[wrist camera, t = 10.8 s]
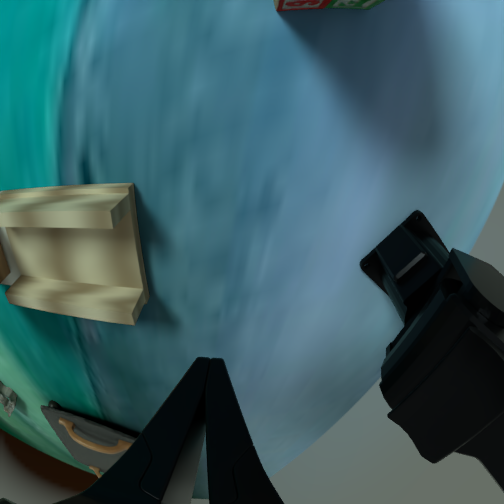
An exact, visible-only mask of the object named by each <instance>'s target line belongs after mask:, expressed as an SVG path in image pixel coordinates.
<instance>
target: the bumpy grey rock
mask: <svg viewBox="0 0 504 504" xmlns="http://www.w3.org/2000/svg"><path fill="white" fill-rule="evenodd" d="M6 397H8V398H9V400H10V401H9V400H8V399H7V398H6ZM16 397H17V394H15V393H14V391H13V390H12V389H11V388H9V387H6V386H5V385H3V384H2V383H1V381H0V402H1V403H2V404H3V405H4V410H5V411H6V412H7V413H8V414H9V415H8V417H10V415H11V413H12V412H13V410H14V408H15V405H16V403H15V402H16Z"/></svg>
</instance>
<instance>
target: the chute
mask: <svg viewBox="0 0 504 504" xmlns="http://www.w3.org/2000/svg"><path fill="white" fill-rule="evenodd" d="M0 243H1V246H2V249H3V252H4V255H5V258H6V261H7V263H8V266H9V269H10V272H11V273H10V274H9V275H8V276H7V277H6V278H5V279H4V280H3V281H2V282H1V283H0V284H5V285H11V287H10V288H9V289H8V290H7V291H6V292H5V295H6V297H7V299H8V301H9V303H10V304H15V305H19V306H24V307H28V308H33V309H38V310H43V311H48V312H53V313H58V314H63V315H69V316H75V317H81V318H87V319H93V320H99V321H106V322H113V323H120V324H128V325H135V324H136V321H137V319H138V317H139V314H140V312H141V310H142V307H143V305H144V304H147V302H148V299H149V297H150V296H149V291H148V285H147V280H146V274H145V268H144V262H143V256H142V249H141V243H140V236H139V228H138V221H137V212H136V204H135V194H134V184H133V183H116V184H88V185H69V186H53V187H40V188H28V189H17V190H7V191H0Z"/></svg>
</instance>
